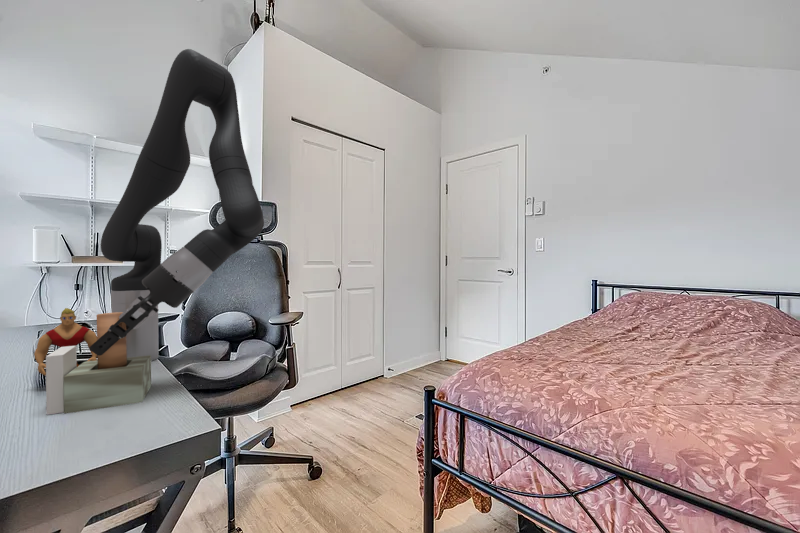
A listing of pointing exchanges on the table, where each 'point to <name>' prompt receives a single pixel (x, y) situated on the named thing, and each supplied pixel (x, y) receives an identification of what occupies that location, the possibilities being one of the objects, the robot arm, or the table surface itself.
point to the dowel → (118, 351)
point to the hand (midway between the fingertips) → (97, 349)
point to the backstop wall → (58, 377)
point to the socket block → (107, 385)
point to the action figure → (64, 338)
